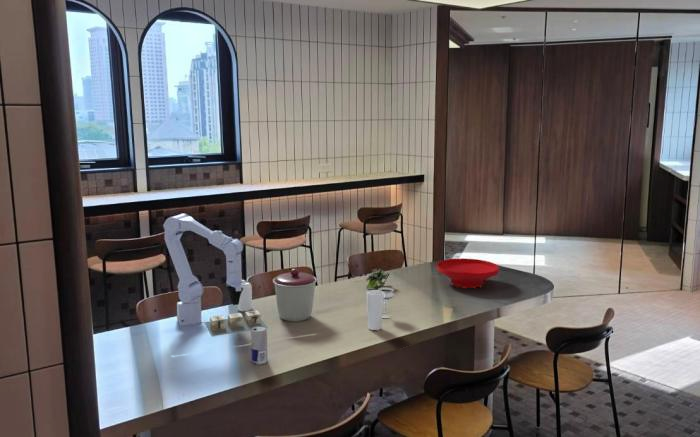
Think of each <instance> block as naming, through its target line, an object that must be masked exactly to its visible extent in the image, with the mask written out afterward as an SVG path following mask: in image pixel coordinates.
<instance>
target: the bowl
mask: <svg viewBox="0 0 700 437" xmlns="http://www.w3.org/2000/svg"><path fill="white" fill-rule="evenodd" d="M436 270H437V272H439V273H440V274H442V275H445V276H446V277H448V278H449V279H450V284H451V283H452V284H453V285H455V286H458V287H457V288H459V287H465V288H464V289H467V288H474V287H480V286H482V285H483V286H484V281H486V280H487V279H490V278H491V277H495V276H497V275H498V274H499V272H500V266H499V265H498V264H496V263H494V262H491V261H488V260H483V259H477V258H448V259H444V260H443V259H442V260H440V261H438V262H437V263H436ZM452 284H451V285H452ZM453 285H452V286H453ZM455 286H454V287H455ZM483 286H482V287H483ZM480 288H481V287H480ZM474 289H475V288H474Z"/></svg>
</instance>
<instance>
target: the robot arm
mask: <svg viewBox="0 0 700 437" xmlns="http://www.w3.org/2000/svg"><path fill="white" fill-rule="evenodd" d="M162 227H163V229H164V236H163V237H164V241H165V244H166V248H167V250H168V253H169V255H170V258H171V260H172V263H173V266H174V269H175V272H176V274H177V277H178V279H179V280H178V285H177V289H178V298H179V300H180V301H177V302H176V320H177V322H178V324H179V326H180V327H181V326H186V325H187V326H188V325H194V324H202V323H204V322H205V321H204V319H203V317H202V300H201V299H202V295H203V294H204V287H203V284H202V283H201V282H200V281H199V278H198V277H196V276H195V275H193V272H192V270H191V266H190V263H189V261H188V258H187V256H186V253H185V250H184V247H183V245H182V242H181V238H182V236H183V233H184V232H186V231H187V232H188V231H190V232H193V233H195V234H196V235H199V236H201V237H203V238H206V239H207V240H208V243H209V244H211V245H212V246H214V247H216V248H217V249H219V250H221V251H223V253H224V255H225V259H226V260H225V262H226V286H225V287H226V289H227V290H228V291H227V292H228V295H229V297H230V301H231V302H230V303H231V304H232V305H233V306H237V305H238V304H239V300H240V295H241V293H242V291H243V287H241V285H242V283H244V282H245V281H246V280H245V279H243V278H242V276H243V274H242V252H243V250H244V243H243V242H242V241H241V240H240V239H239V238H233V237H232V236H228V235H226V234H224V233H223V231H222V230H211V229H210V228H208V227H206V226H205V225H203V224H202V223H200V222H198V221H197V220H195V219H194V218H193V217H192V216H190V215H188V214H187V213H179V214H178V215H174V216H170V217H168V218H167V219H166V220H165V221H164V223H163V225H162Z"/></svg>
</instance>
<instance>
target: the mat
mask: <svg viewBox="0 0 700 437" xmlns="http://www.w3.org/2000/svg"><path fill="white" fill-rule="evenodd" d="M260 320H261V324H256V325H249V326H248V324H247V323H246V322H245V316H243V326H242V327H235V328H230V326H229V324H228V318H225V322H226V329H221V330H214V331H213V330H212V328H211V326H210V321H204V322H203V323H204V325H205V327H206V329H207V331H208V332H209V334H210V336H211V337H217V336H223V335H230V334H237V333H243V332H244V333H245V332H251V329H252V328H253V327H255V326H264V327H266V329H268V328H269V327H268V325H266V323H265V322H264V321H263V320H262V318H260Z"/></svg>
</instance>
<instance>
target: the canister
mask: <svg viewBox="0 0 700 437" xmlns="http://www.w3.org/2000/svg"><path fill="white" fill-rule="evenodd" d="M317 281H318V279H317V278H316V277H315V276H313V275H312V274H310V273H307V272H300V270H299V269H298V268H292V269H291V270H290V272H286V273H281V274H279V275H277V276H276V277H274V278H273V279H272V283H273V284H274V291H275V298H276V306H277V311H278V316H280V317H279V318H281V319H282V320H283V321H286V322H293V323H294V322H302V321H306V320H308V319H309V318H310V317H311V315H312V312H313V306H314V298H315V290H316V289H315V288H316V283H317Z"/></svg>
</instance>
